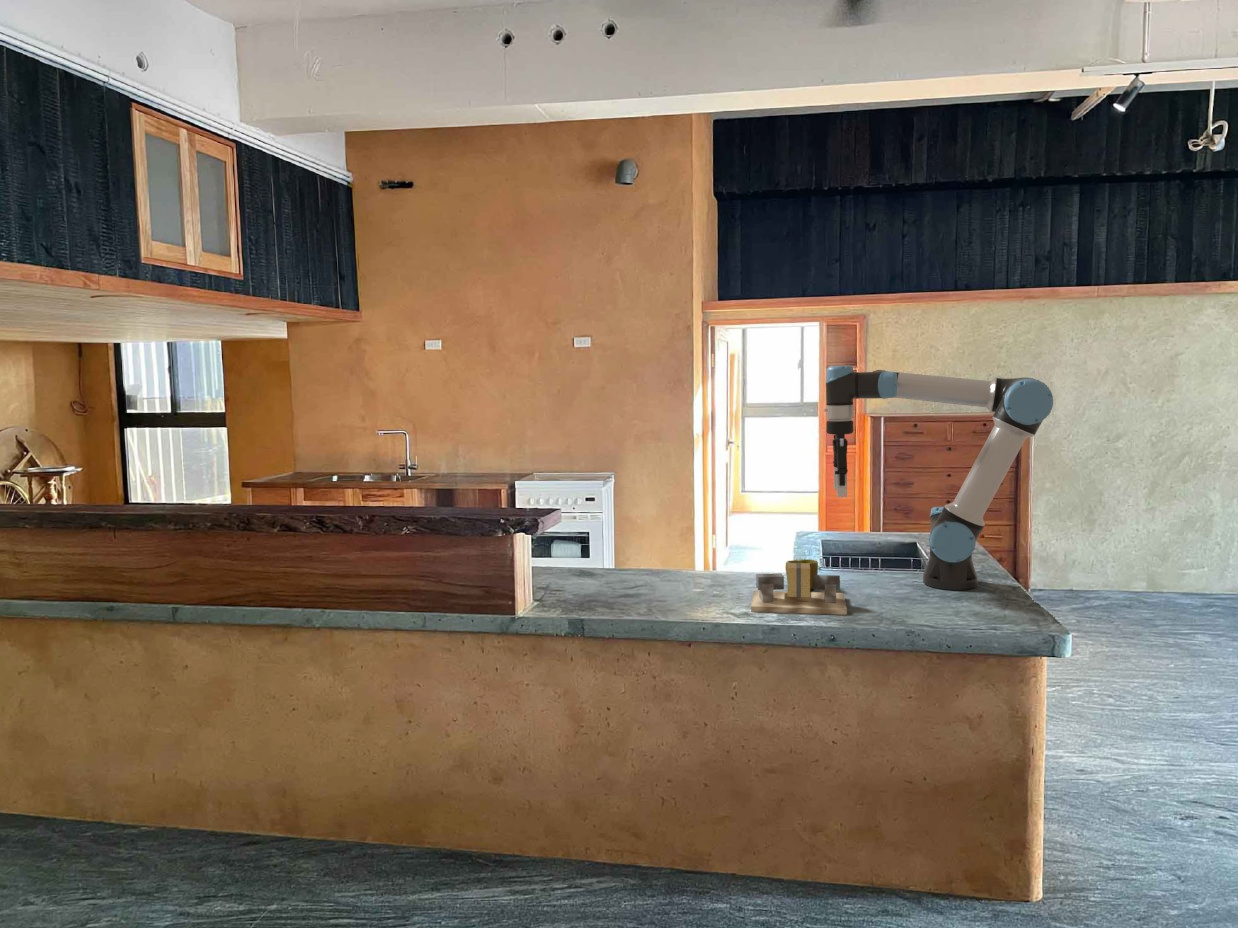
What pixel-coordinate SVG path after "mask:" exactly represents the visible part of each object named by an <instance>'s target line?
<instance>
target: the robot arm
mask: <svg viewBox="0 0 1238 928" xmlns="http://www.w3.org/2000/svg"><path fill="white" fill-rule="evenodd" d="M825 374H826V376H825V379H826V380H825V397H826V398H825V399H826V401H825V403H826V408H824V409H823V410H824V412H825V413H826V419H827V421H826V429H825V431H826V434H828V435H833V439H832V451H833V460H832V463H833V490H834V491H836V498H848V471H849V470H848V458H847V457H848V456H847V455H848V440H847V438H846V437H845V436H846V435H851V434H853V433H854V420H852V419H854V414H855V413H854V411H855V410H854V399H855V400H856V399H857V400H859V399H865V400H866V399H869V400H870V399H883V400H885V399H893V398H894V399H902V400H903V399H904V400H913V401H922V402H932V403H940V404H941V403H942V404H950V405H961V406H967V407H968V406H970V407H979V408H985V409H987V410H988V411H989V412H992V413H993V415H992V420H993V423H994V426H993V427H992V429H991V431H990V433H989V435H988V436H987V439H986V440H985V443H984V445H983V446H982V448H981V449H980V452H979V454H978V455H977V457H976V458H975V461H974V462H973V465H972V466H971V468H970V470H969V472H968V474H967V476H966V477H965V479H964V481H963V483H962V485H961V487H960V488H959V491H958V493H957V495H956V496H955V497H954V500H953V502H950V503H947V504H945V505H944V506H934V507H932V508H931V509H930V514H929V518H930V519H929V520H930V524H929V525H930V526H929V538H928V544H929V558H928V560H927V564H926V566H925V569H924V572H923V575H922V584H924V585H926V586H928V587H930V588H935V589H940V590H946V591H948V590H950V591H966V590H973V589H975V588H977V587H978V584H979V583H978V576H977V571H976V569H975V568H976V567H975V565H974V563H973V559H972V557H973V556H972V555H973V553H974V551H975V547H976V543H977V541H978V539H979V537H980V535H981V533H982V531H983V530H984V528H985V527H986V525H985V524H986V523H985V521H984V515H985V513H986V511H987V510H988V508H989V507H990V505H991V503H992V501H993V499H994V497H995V495H996V494H997V492H998V490H999V488H1000V486H1001V484H1002V483H1003V481H1004V479H1005V477H1006V476H1007V474H1008V472H1009V470H1010V467H1011V466H1012V465H1013V463H1014V461H1015V459H1016V458H1017V455H1018V454H1019V452H1020V450H1021V448H1022V447H1023V445H1024V442H1026V440H1027V439H1030V438H1031V437H1034V436H1035V435H1036V433H1037V431H1038V430H1039V428H1040V426H1041V425H1042V423H1043V421H1044V420H1045V419H1047V417H1048V416H1049V415H1050V413H1051V412H1052V409H1053V407H1054V396H1053V393H1052V390H1051V389H1050V388H1049V385H1047V384H1046V383H1044V382H1043V381H1041V380H1039V379H1036V378H1032V377H1025V376H1024V377H1016V378H1012V377H1011V378H1002V377H1001V378H1000V377H994V378H993V379H991V380H984V379H975V378H974V379H973V378H962V377H954V376H953V377H952V376H940V375H931V374H920V373H909V372H901V371H899V372H897V371H891V370H890V371H888V370H884V369H876V370H873V371H866V372H865V371H862V372H856V371H854V367H853V366H852V365H830V366H828V368H826V373H825Z"/></svg>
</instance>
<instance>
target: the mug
mask: <svg viewBox="0 0 1238 928" xmlns="http://www.w3.org/2000/svg"><path fill="white" fill-rule="evenodd" d="M788 563H810V590H813V575H819V574H818V571H819V563H818V561H817V560H815V559H809V558H808V559H806V558H804V559H801V558H799V559H792V560H787V561H786V562H785V574H786V575H785V576H787V568H788ZM787 584H788V582H787Z"/></svg>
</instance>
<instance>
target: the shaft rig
mask: <svg viewBox="0 0 1238 928" xmlns="http://www.w3.org/2000/svg"><path fill="white" fill-rule="evenodd" d="M755 575H756V576H755V577H756V578H755V580H756V581H755V585H756V586H755V587H756V588H757V590H753V594H752V599H751V604H750V610H751V613H778V614H779V613H780V614H781V613H782V614H809V615H810V614H811V615H813V614H815V615H838V616H839V615H842V616H845V615H848V608H847V604H846V598H845V593H843V592H837V591H840V590H841V577H840V575H839V574H838V575H835V574H834V575H830V574H818V575H813V589H812V590H815V591H816V590H818V591H819V592H815V591H812V592H811V591H810V597H788V591H784V589H785V576H784V574H783V573H778V572H777V573H756V574H755ZM775 590H776V591H775ZM778 590H780V591H778ZM820 591H823V592H820Z"/></svg>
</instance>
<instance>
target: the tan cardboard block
mask: <svg viewBox="0 0 1238 928" xmlns="http://www.w3.org/2000/svg"><path fill="white" fill-rule="evenodd" d="M786 581H787V582H788V583H787V592H788V597H810V592H811V589H810V563H788V568H787V575H786Z"/></svg>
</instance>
